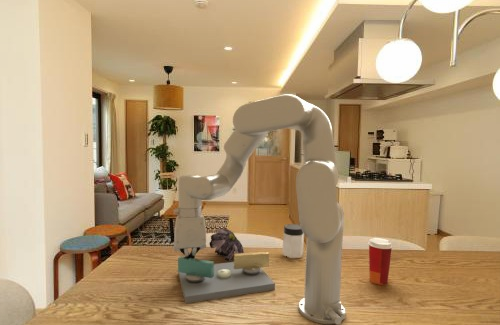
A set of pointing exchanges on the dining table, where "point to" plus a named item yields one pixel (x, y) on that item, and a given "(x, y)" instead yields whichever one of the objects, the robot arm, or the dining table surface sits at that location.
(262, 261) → the knob
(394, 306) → the dining table surface
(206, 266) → the knob
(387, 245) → the paper cup
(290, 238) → the jar
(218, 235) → the decorative flower
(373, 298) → the dining table surface
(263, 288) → the board
